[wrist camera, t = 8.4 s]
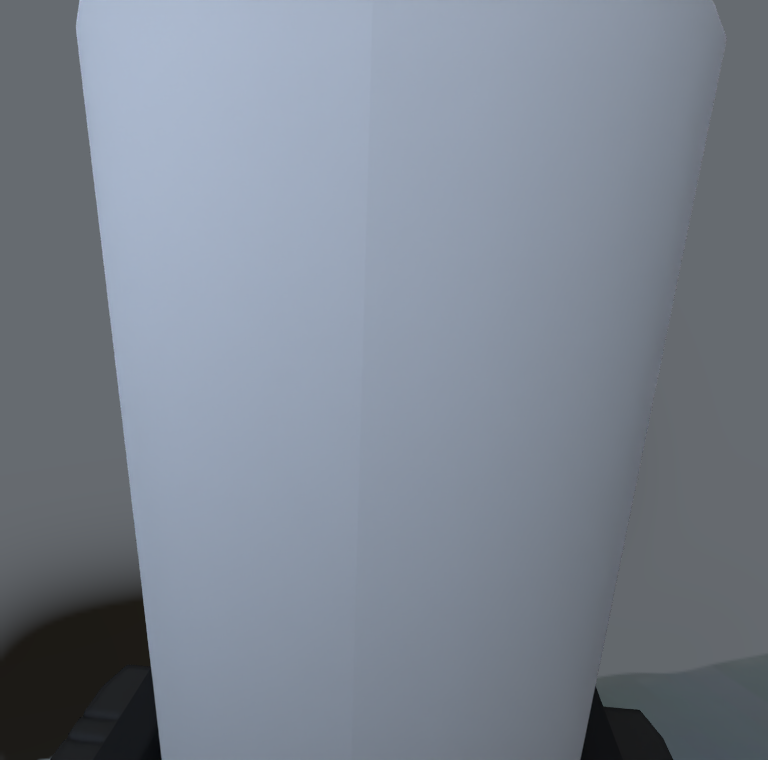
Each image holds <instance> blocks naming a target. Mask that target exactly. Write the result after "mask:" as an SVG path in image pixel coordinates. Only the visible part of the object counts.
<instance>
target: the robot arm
mask: <svg viewBox="0 0 768 760" xmlns="http://www.w3.org/2000/svg"><path fill="white" fill-rule="evenodd" d="M50 760H162V758H161V749H160V740H159V732H158V723H157V714H156V705H155V697H154V688H153V679H152V671H151V667H148V666H137V665H126V666H125V667H124V668H123V669H122V670H121V671H119V673H117V674H116V675H115V676H114V677H113V678H111V679H110V680H109V681H108V682H107V683H106V684H104V685H103V687H102V688H101V689H100V691H99V692H98V693H97V695H96V696H95V698H94V699H93V700H92V702H91V703H90V705H89V706H88V707H87V709H86V710H85V712H84V715H83V717H80V719H79V720H78V721H77V723H76V724H75V726H74V727H73V728H72V730H71V731H70V733H69V736H68V738H67V739H66V740H64V741H63V743H62V744H61V745H60V747H59V748H58V750H57V751H56V752H55V754H54V755H53V757H52V758H51V759H50ZM580 760H673V758H672V756H671V754H670V752H669V750H668V748H667V746H666V743H665V741H664V739H663V738H662V736H661V735H660V734H659V733H658V732H657V730H656V729H655V728H654V727H653V726H652V724H651V723H650V722H649V721H648V719H647V718H646V717H645V716H644V715H643V713H642V712H641V711H640V710H634V709H623V708H612V707H603V705H602V702H601V699H600V697H599V694H598V691H597V689H596V686H595V690H594V695H593V700H592V705H591V710H590V715H589V720H588V725H587V729H586V734H585V739H584V744H583V749H582V754H581V759H580Z"/></svg>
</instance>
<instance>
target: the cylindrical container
mask: <svg viewBox="0 0 768 760" xmlns="http://www.w3.org/2000/svg"><path fill="white" fill-rule="evenodd" d="M76 32H77V41H78V50H79V58H80V66H81V75H82V84H83V92H84V101H85V109H86V118H87V126H88V134H89V142H90V150H91V151H90V152H91V160H92V168H93V177H94V185H95V194H96V202H97V211H98V219H99V228H100V236H101V245H102V253H103V262H104V270H105V278H106V287H107V296H108V304H109V312H110V321H111V329H112V338H113V346H114V355H115V362H116V372H117V380H118V389H119V397H120V405H121V414H122V422H123V431H124V439H125V447H126V457H127V465H128V473H129V481H130V490H131V498H132V507H133V515H134V524H135V533H136V541H137V549H138V558H139V567H140V574H141V584H142V592H143V601H144V610H145V618H146V626H147V635H148V644H149V652H150V662H151V671H152V679H153V688H154V697H155V705H156V714H157V723H158V732H159V740H160V749H161V758H162V760H580V759H581V754H582V749H583V744H584V739H585V734H586V729H587V725H588V720H589V715H590V710H591V705H592V700H593V695H594V690H595V685H596V680H597V675H598V670H599V665H600V660H601V655H602V651H603V646H604V641H605V635H606V631H607V625H608V621H609V616H610V611H611V606H612V601H613V596H614V591H615V586H616V581H617V577H618V571H619V566H620V562H621V557H622V552H623V547H624V542H625V537H626V532H627V527H628V522H629V518H630V513H631V508H632V502H633V498H634V493H635V488H636V483H637V478H638V473H639V468H640V463H641V458H642V453H643V448H644V443H645V439H646V434H647V429H648V424H649V419H650V414H651V408H652V404H653V399H654V394H655V389H656V384H657V379H658V374H659V370H660V365H661V360H662V355H663V350H664V345H665V340H666V335H667V330H668V325H669V320H670V315H671V310H672V306H673V301H674V296H675V291H676V286H677V281H678V276H679V271H680V266H681V261H682V256H683V251H684V246H685V241H686V237H687V232H688V227H689V222H690V217H691V211H692V207H693V202H694V197H695V192H696V187H697V182H698V177H699V172H700V168H701V163H702V158H703V153H704V147H705V143H706V137H707V133H708V128H709V123H710V118H711V113H712V108H713V103H714V98H715V94H716V88H717V84H718V79H719V74H720V69H721V64H722V59H723V54H724V49H725V44H726V39H727V38H726V35H725V32H724V29H723V27H722V24H721V21H720V18H719V16H718V13H717V10H716V8H715V4H714V2H713V1H711V0H80V1H79V9H78V16H77V23H76Z"/></svg>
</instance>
